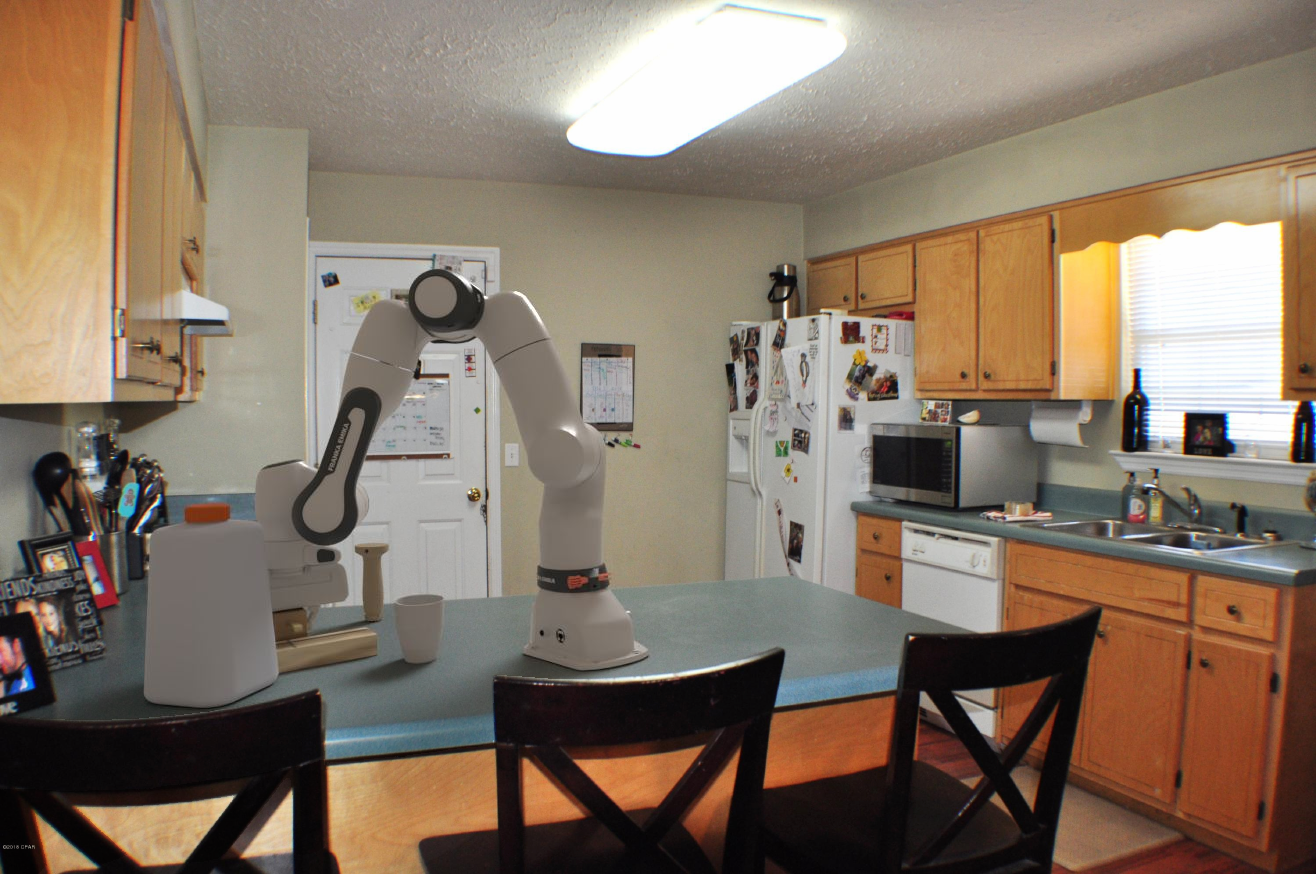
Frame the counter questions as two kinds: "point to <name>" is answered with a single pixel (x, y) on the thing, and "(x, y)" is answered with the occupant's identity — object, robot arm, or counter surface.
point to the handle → (372, 579)
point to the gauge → (290, 624)
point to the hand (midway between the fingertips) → (287, 634)
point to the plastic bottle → (208, 611)
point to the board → (325, 649)
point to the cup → (420, 626)
